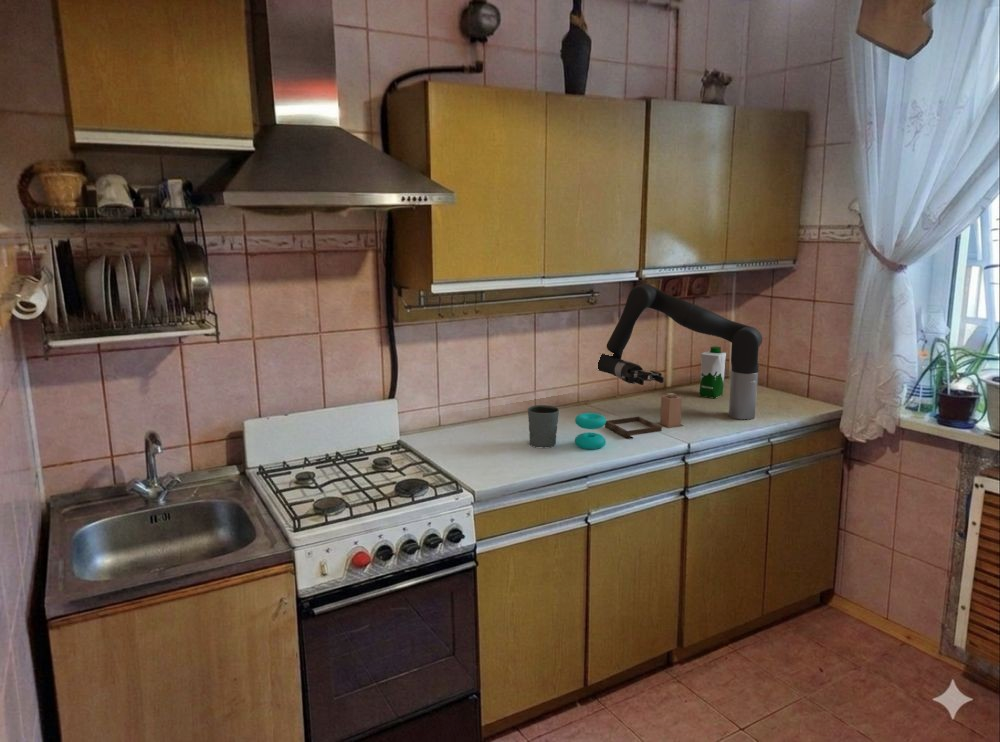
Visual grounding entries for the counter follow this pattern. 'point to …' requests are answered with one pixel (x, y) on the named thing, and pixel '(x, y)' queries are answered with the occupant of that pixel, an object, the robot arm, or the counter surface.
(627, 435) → the tray
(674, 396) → the post
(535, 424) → the grey tapered cup
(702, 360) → the milk carton
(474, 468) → the counter surface
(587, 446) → the donuts
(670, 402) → the sleeve
